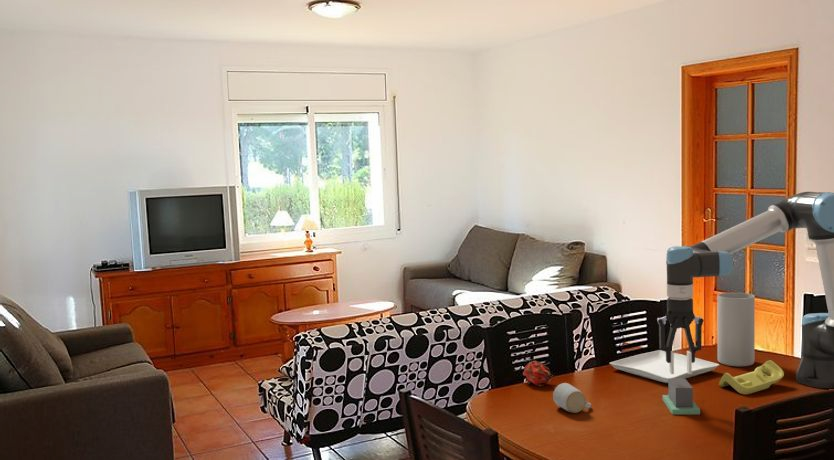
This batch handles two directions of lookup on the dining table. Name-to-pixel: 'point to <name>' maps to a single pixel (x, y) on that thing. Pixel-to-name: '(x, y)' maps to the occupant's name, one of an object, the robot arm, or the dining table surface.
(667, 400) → the header board
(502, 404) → the dining table surface
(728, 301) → the cylinder vase
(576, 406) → the ceramic mug
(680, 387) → the plug housing
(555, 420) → the dining table surface
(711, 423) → the dining table surface
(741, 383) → the plastic component
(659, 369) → the square plate
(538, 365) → the dragon fruit
